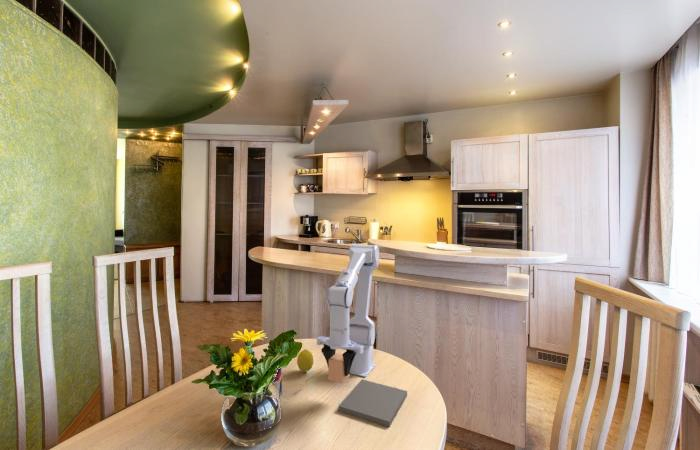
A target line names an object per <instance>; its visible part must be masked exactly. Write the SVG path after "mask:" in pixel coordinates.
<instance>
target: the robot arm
mask: <svg viewBox="0 0 700 450" xmlns="http://www.w3.org/2000/svg"><path fill="white" fill-rule="evenodd" d="M348 257H349V258H348V259H349V262H348V265H347V267H346V268H345V269H343V270H342V271H341V272H340V274H339V276H338V278H337V279H336V282H335V284H334V285H332V286H330V287H329V288H328V290H327V293H326V303H327V311H328V312H329V336H322V335H321V336H318V337H317V338H316V345H318V346H321V345H322V348H321V353H322V355H323V357H324V359H325V361H326V364H327V368H328V370H329V359H330V358H331V357H332V356H333V355H335V354H336V351H337V350H344V352H343V353H342V356H343V360H344V375H345V376H348V375H349V374H350V375H351V374H352V375H355V376H358V377H359V376H360V377H363V378H366V377H367V376H368V375H369V374H370V372H371V371H372V370H373V369H374V368H375V367H376V363H374V346H373V345H374V344H375V339H376V323H375V322H374V321H373V320H372V319H371V318H370V317H369V310H370V299H371V292H372V291H371V290H372V280H373V274H374V271H376V270H377V269H378V266H379V263H380V262H379V259H380V249H379V246H378V245H377V244H356V243H352V244H351V245H350V246H349V249H348ZM358 274H359V275H358ZM356 284H357V289H356V290H357V291H356V299H355V308H354V309H355V310H354V316H352V317H351V318H350V310H351V309H350V307H351V305H352V303H353V299H354V293H355V292H354V290H355V287H356Z"/></svg>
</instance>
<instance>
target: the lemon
mask: <svg viewBox="0 0 700 450" xmlns="http://www.w3.org/2000/svg"><path fill="white" fill-rule="evenodd" d="M296 362H297V363H296V364H297V367H298V369H299V370H300V371H302V372H304V373H307V372H308V371H310V370H311V369H312V368H313V365H314V356H313V353H312V352H311V351H310V350H308V349H304V350H301V351H299V353H298V356H297V361H296Z"/></svg>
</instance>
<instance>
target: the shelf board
mask: <svg viewBox="0 0 700 450" xmlns="http://www.w3.org/2000/svg"><path fill="white" fill-rule="evenodd" d="M407 397H408V391H407V390H405V389H400V388H396V387H393V386H390V385H385V384H381V383H377V382H373V381H371V380H367V379H361V380H359V382H358V383H357V384H356V385H355V387H354V388H353V389H352V390H351V391H350V392H349V394H347V396H346V397H345V398H344V399H343V400H342V401H341V403H339V405H338V412H340V413H344V414H347V415H350V416H353V417H355V418H360V419H363V420H364V421H369V422H372V423H376V424H378V425H381V426H385V427H387V428H390V427H391V425H392V424H393V421H394V420H395V418H396V416H397V415H398V413H399V411H400V410H401V408H402V405H403V404H404V403H405V401H406V398H407Z"/></svg>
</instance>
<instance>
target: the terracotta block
mask: <svg viewBox="0 0 700 450" xmlns="http://www.w3.org/2000/svg"><path fill="white" fill-rule="evenodd" d="M342 354H343V353H342ZM342 354H341V353H336V352H335V355H333V356H332V357H331V358H330V359H329V369H328V380H329V381H333V382H337V383H338V384H339V383H340V384H344V382H346V380H347V379H349V377H350V376H351V373H350V374H349V375H348V376H345V375H344V360H343V356H342Z"/></svg>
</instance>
